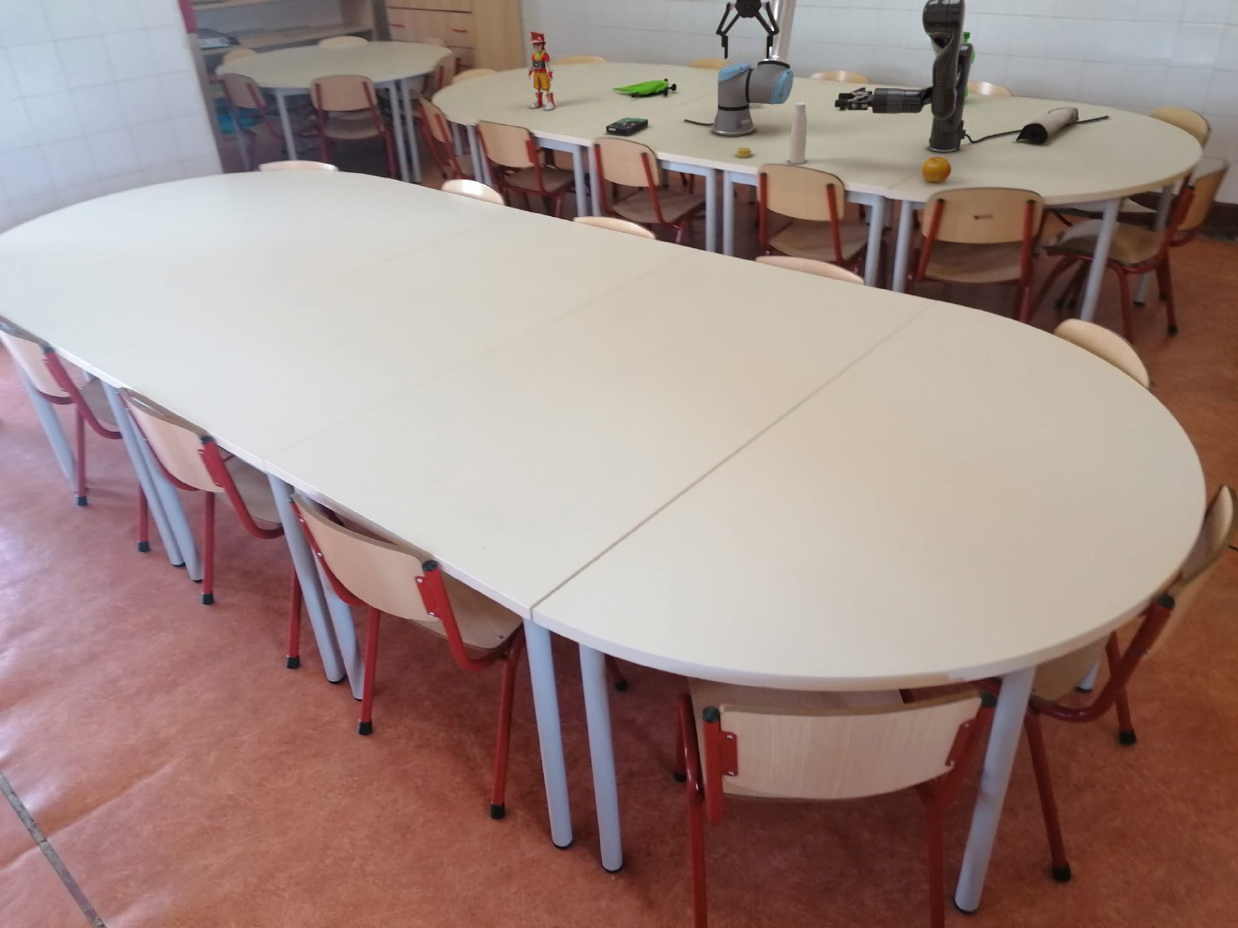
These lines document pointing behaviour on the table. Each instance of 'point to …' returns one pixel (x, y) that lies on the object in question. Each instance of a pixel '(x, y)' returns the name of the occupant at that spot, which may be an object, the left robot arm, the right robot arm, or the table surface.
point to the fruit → (936, 169)
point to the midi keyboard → (857, 90)
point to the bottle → (798, 134)
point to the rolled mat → (1048, 125)
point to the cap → (744, 152)
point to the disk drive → (627, 126)
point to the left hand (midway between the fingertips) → (746, 58)
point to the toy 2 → (648, 88)
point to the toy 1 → (541, 71)
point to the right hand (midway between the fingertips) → (836, 100)
